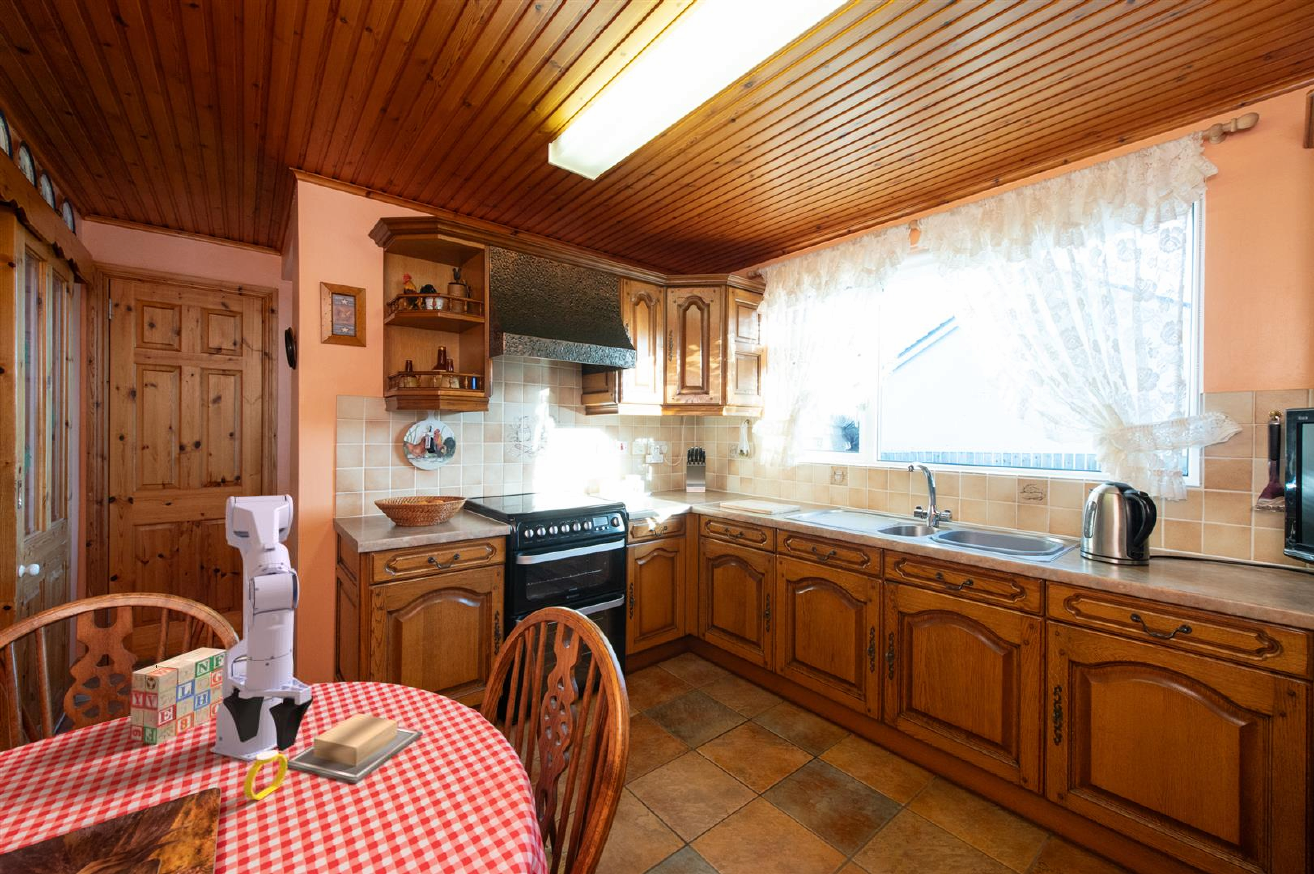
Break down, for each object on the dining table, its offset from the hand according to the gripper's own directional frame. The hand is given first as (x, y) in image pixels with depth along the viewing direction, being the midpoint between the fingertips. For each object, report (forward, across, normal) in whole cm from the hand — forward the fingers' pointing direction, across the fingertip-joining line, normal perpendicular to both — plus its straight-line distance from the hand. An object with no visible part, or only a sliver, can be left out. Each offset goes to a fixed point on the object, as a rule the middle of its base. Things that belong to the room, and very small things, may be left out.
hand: (267, 743), depth 82 cm
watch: (+8, 0, 0) cm, 8 cm away
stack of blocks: (+8, -34, +14) cm, 38 cm away
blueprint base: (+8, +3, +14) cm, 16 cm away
